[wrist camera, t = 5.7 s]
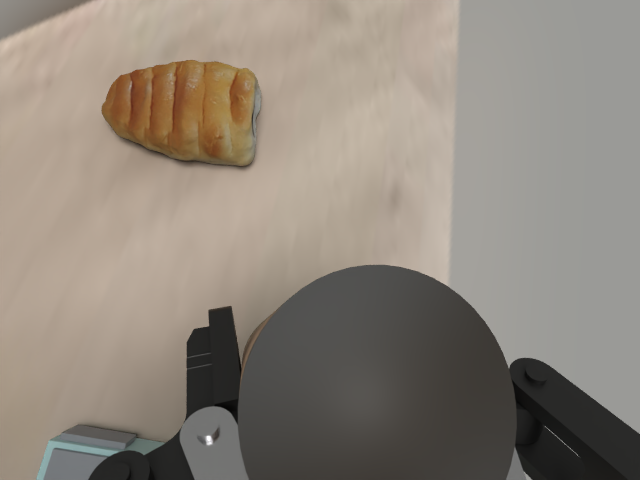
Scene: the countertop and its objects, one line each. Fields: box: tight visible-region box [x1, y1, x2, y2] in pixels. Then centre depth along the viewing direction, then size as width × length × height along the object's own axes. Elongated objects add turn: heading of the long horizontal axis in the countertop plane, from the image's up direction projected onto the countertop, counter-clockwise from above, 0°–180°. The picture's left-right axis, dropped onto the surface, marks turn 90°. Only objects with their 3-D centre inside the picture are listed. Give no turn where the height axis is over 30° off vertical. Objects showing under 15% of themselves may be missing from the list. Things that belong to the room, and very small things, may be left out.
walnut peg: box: [238, 265, 517, 480], centre depth 13 cm, size 5×5×13 cm
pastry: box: [102, 60, 261, 166], centre depth 26 cm, size 9×7×4 cm
